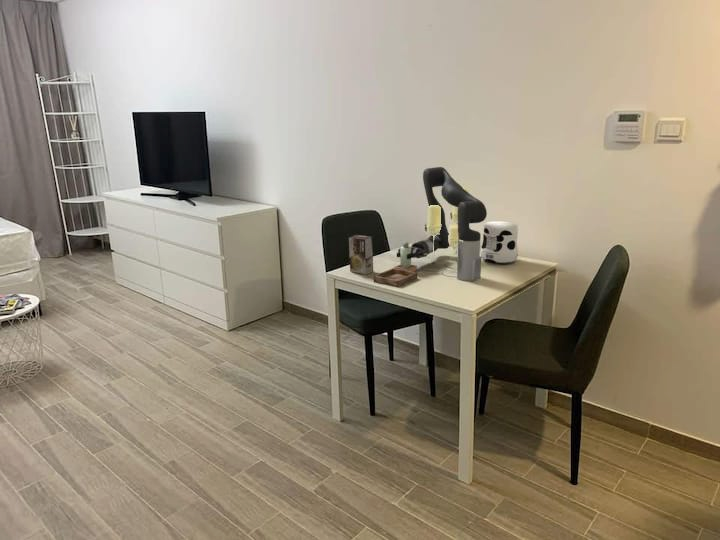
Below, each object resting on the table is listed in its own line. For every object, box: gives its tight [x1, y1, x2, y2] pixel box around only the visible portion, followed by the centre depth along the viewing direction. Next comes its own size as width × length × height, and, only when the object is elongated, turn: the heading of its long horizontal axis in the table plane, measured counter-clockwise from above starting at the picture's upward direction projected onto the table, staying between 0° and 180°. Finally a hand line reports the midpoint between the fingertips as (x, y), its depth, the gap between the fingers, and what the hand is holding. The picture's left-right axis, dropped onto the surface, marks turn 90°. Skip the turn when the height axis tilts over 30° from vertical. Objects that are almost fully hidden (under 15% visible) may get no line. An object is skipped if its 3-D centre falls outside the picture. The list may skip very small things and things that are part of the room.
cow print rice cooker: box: [480, 220, 519, 265], centre depth 255 cm, size 17×17×18 cm
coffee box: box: [348, 234, 374, 275], centre depth 244 cm, size 9×6×16 cm
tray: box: [373, 267, 418, 288], centre depth 232 cm, size 13×15×2 cm
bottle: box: [399, 241, 412, 269], centre depth 244 cm, size 5×5×13 cm
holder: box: [393, 264, 418, 272], centre depth 245 cm, size 7×7×2 cm
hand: (402, 256), depth 241 cm, fingers closed on bottle, 4 cm apart
